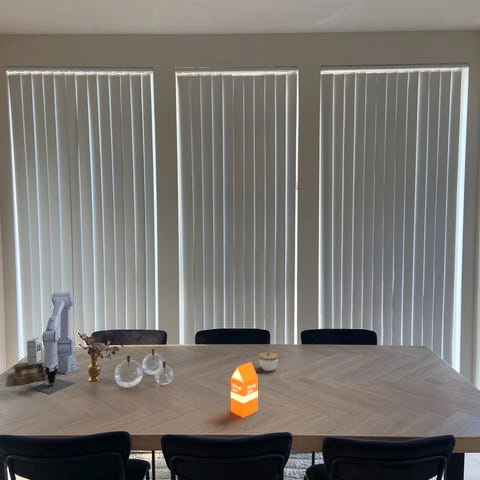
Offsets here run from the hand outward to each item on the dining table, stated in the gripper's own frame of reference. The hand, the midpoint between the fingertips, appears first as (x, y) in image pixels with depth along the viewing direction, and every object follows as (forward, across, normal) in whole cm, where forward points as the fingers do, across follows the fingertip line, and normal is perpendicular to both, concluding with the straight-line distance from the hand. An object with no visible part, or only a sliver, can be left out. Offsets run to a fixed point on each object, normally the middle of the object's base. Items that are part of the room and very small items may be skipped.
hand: (51, 381), depth 188 cm
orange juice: (+3, +71, +70) cm, 100 cm away
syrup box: (+3, -42, -7) cm, 43 cm away
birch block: (+1, 0, 0) cm, 1 cm away
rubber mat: (+2, 0, +1) cm, 3 cm away
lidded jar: (+3, +35, +106) cm, 112 cm away
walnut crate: (+2, -20, -10) cm, 22 cm away
